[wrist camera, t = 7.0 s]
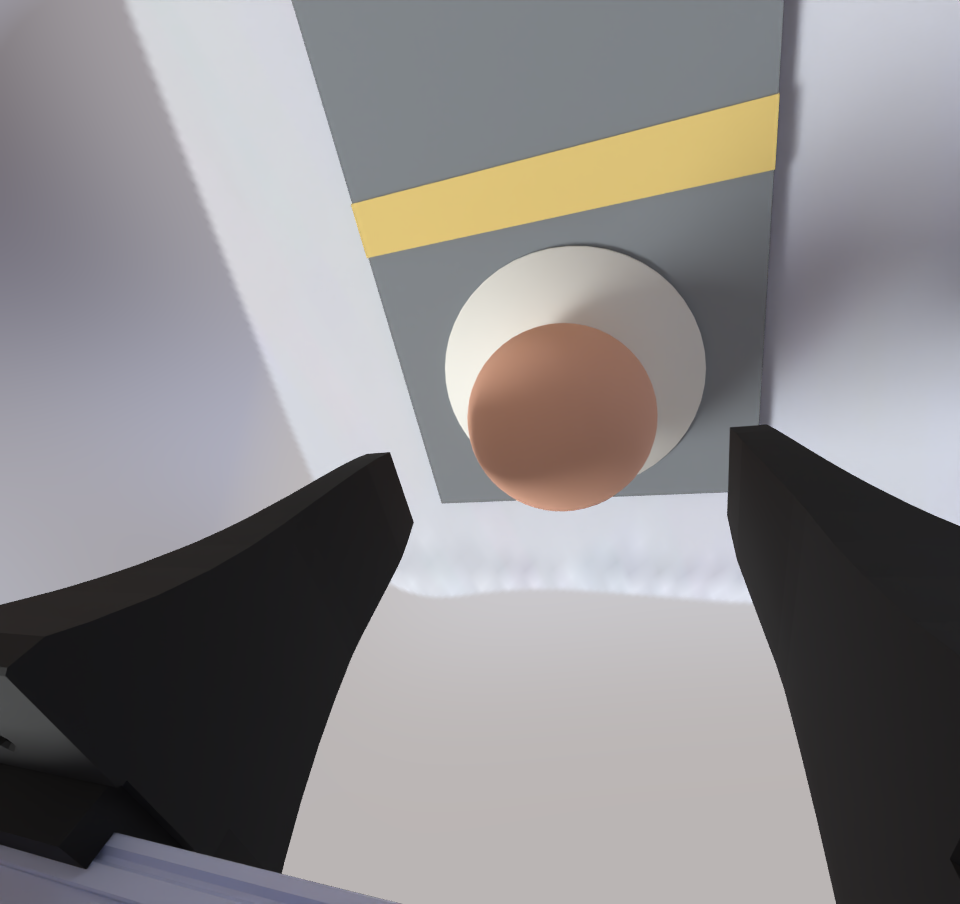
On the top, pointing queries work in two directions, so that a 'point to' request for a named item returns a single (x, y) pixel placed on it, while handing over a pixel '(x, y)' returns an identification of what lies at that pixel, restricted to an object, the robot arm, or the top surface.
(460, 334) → the white disc
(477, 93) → the mat
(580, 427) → the ball
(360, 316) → the top surface
